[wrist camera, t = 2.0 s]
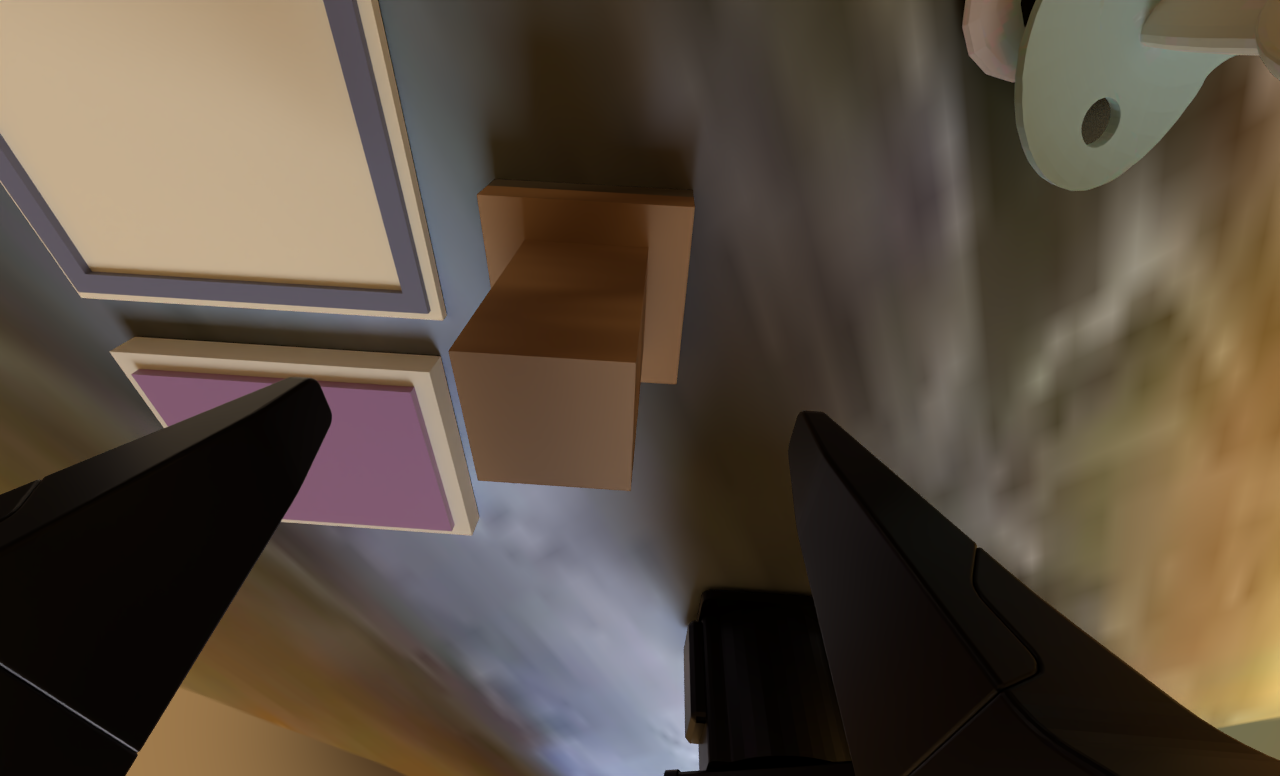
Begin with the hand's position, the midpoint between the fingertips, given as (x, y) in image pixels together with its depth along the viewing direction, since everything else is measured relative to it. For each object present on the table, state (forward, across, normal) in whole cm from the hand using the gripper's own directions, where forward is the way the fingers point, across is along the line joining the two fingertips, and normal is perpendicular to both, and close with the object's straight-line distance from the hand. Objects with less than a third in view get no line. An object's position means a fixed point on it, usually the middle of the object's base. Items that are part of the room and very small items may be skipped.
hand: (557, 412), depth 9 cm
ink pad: (+6, +10, +7) cm, 13 cm away
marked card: (+6, +10, -4) cm, 12 cm away
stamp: (+6, 0, 0) cm, 6 cm away
